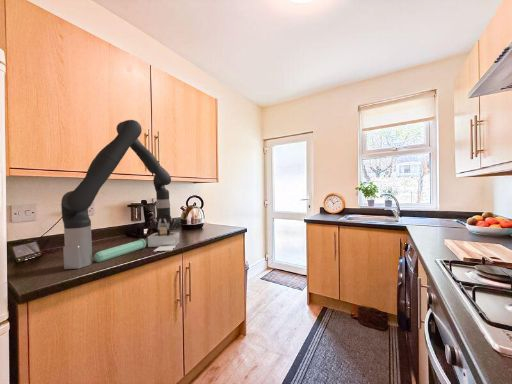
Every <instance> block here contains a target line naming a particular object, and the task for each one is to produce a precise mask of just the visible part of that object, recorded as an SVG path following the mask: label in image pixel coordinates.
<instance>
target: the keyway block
mask: <svg viewBox="0 0 512 384" xmlns="http://www.w3.org/2000/svg"><path fill="white" fill-rule="evenodd" d="M179 243H180V231H179V232H177V231H176V232H171V231H170V234H169V235H162V236H159V235H158V232H154V233H152V234H150V235H149V236H147V248H158V247H159V246H176V245H178V244H179Z"/></svg>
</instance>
